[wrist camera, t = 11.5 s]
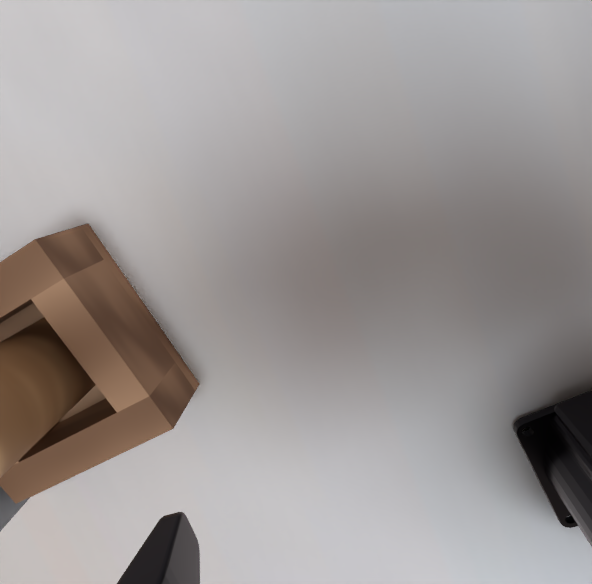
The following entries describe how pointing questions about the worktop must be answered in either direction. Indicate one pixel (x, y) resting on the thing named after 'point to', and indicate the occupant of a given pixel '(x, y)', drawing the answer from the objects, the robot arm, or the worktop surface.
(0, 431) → the dowel
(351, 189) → the worktop surface
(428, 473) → the worktop surface
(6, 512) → the backstop wall
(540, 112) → the worktop surface
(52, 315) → the socket block
